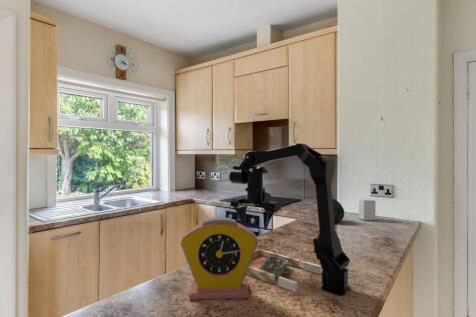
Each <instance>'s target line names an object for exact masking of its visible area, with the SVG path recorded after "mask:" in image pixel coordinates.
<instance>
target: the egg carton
mask: <svg viewBox="0 0 476 317" xmlns="http://www.w3.org/2000/svg"><path fill="white" fill-rule="evenodd" d="M287 261H288V260H285V259H284V260H282V259H280V260H276V257H275V256H271V254H270V255H269V256H268V257H267V259H266V260H265V261H264V262H263V263H262V265H261V267H260V268H261V269H260V270H263V271H266V272H269V273H272V274H275V278H278V277H280V276H281V277H282V274H284V273H285V270H288V267H287V266H288V265H287Z"/></svg>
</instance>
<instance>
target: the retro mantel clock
mask: <svg viewBox="0 0 476 317" xmlns="http://www.w3.org/2000/svg"><path fill="white" fill-rule="evenodd" d="M180 241H181V242H180V246H181V248H182V252H183V254H184V257H185V259H186V261H187V264H188V267H189V270H190V272H191V274H192V277H193V280H191V281H192V282H191V285H190V288H189V294H188V299H189V300H190V301H192V300H230V299H231V300H234V299H235V300H236V299H249V298H250V288H249V284H248V280H247V279H246V275H247V274H246V273H247V270H248V268H249V265H250V262H251V260H252V257H253V254H254V252H255V250H256V249H257V246H258V237H257V236H256V234H255V233H254V232H253V231H252V230H251V229H250V228H248V227H247V226H246V225H245V226H243V224H242V223H239V222H237V221H236V219H234V218H230V217H225V216H215V217H209V218H206V219H204V220H203V221H202V222H201V223H198V224H197V225H195V226H194V227H192V228H190V229H189V230H188V231H186V233H184V234H183V236H182V238H181V240H180Z"/></svg>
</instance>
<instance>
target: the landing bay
mask: <svg viewBox="0 0 476 317" xmlns="http://www.w3.org/2000/svg"><path fill="white" fill-rule="evenodd" d="M302 265H303V266H302V267H303V268H302V269H303V270H304V271H307V272H311V273H314V274H316V275H317V274H318V275H320V274H321V275H322V267H321V264H316V263H312V262H310V261H309V262H308V261H303V263H302ZM298 284H299V282H298V281H294V280H293V279H289V278H286V277H283V276H282V275H281V276H280V277H277V286H278V287H279V288H283V289H286V290H288V291H292V292H294V293H296V292H298V289H299V288H298V287H299V286H298Z"/></svg>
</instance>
